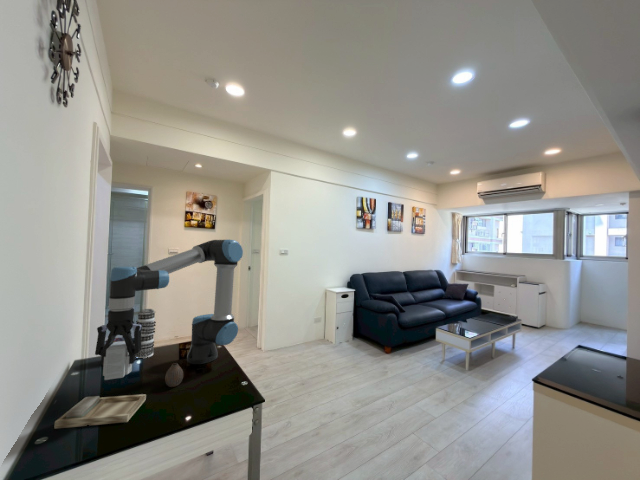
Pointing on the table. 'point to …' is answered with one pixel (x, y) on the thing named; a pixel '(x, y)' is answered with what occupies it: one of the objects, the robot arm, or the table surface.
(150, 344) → the decorative candle
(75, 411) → the organizer
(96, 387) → the table surface
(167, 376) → the vase
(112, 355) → the small box
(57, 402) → the table surface
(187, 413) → the table surface
